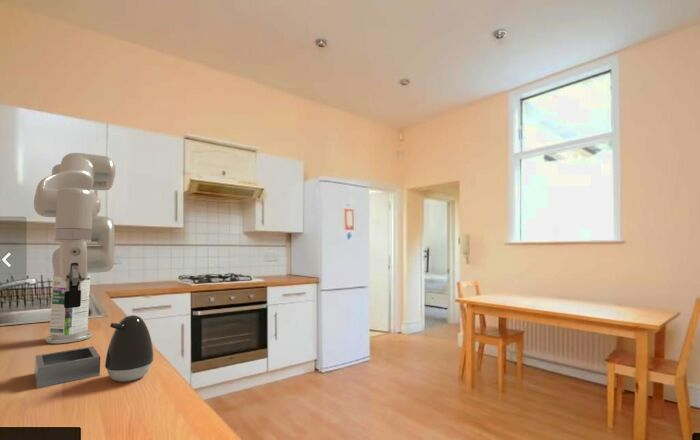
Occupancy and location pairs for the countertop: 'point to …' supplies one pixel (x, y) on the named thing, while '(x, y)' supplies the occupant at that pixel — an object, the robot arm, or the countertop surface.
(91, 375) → the gray square open frame
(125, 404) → the countertop surface
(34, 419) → the countertop surface
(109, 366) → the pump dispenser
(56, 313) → the syrup box
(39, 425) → the countertop surface
